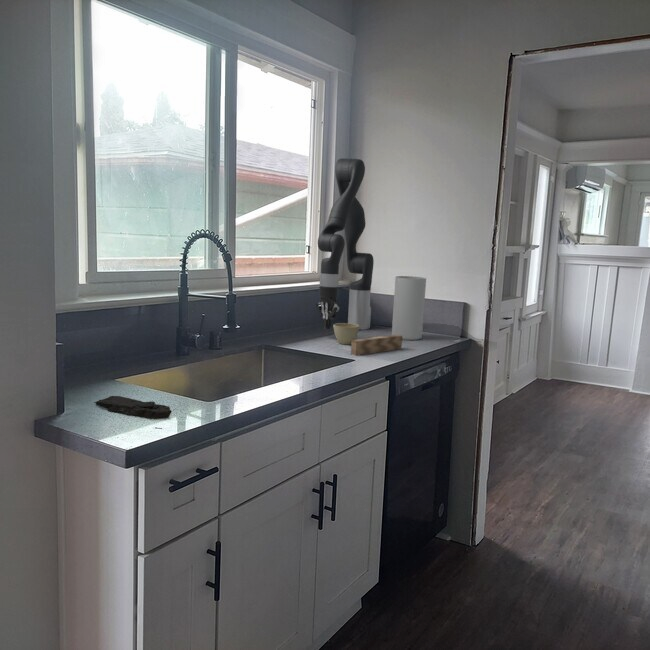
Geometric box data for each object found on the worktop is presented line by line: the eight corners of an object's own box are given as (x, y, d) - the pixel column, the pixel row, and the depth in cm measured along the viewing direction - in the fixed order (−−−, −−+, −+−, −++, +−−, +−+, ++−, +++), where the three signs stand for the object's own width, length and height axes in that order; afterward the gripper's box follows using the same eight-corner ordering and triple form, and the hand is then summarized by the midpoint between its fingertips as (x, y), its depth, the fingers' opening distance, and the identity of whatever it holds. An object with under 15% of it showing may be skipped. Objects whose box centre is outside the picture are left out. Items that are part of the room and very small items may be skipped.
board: (396, 347, 236) (397, 334, 235) (401, 348, 234) (402, 335, 233) (350, 354, 220) (351, 339, 220) (355, 355, 219) (356, 340, 218)
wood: (84, 407, 148) (83, 394, 147) (108, 399, 154) (108, 387, 154) (155, 425, 138) (155, 412, 137) (178, 417, 144) (178, 404, 143)
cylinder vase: (389, 334, 265) (393, 275, 260) (418, 335, 265) (422, 276, 261) (393, 339, 252) (398, 278, 248) (424, 341, 253) (429, 279, 249)
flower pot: (363, 344, 240) (364, 325, 239) (346, 346, 233) (347, 328, 232) (344, 339, 247) (345, 322, 246) (327, 342, 240) (327, 324, 239)
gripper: (347, 286, 242) (345, 330, 245) (325, 283, 252) (323, 325, 255) (333, 287, 237) (330, 331, 240) (311, 283, 247) (309, 326, 250)
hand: (326, 328), depth 247 cm, fingers closed
